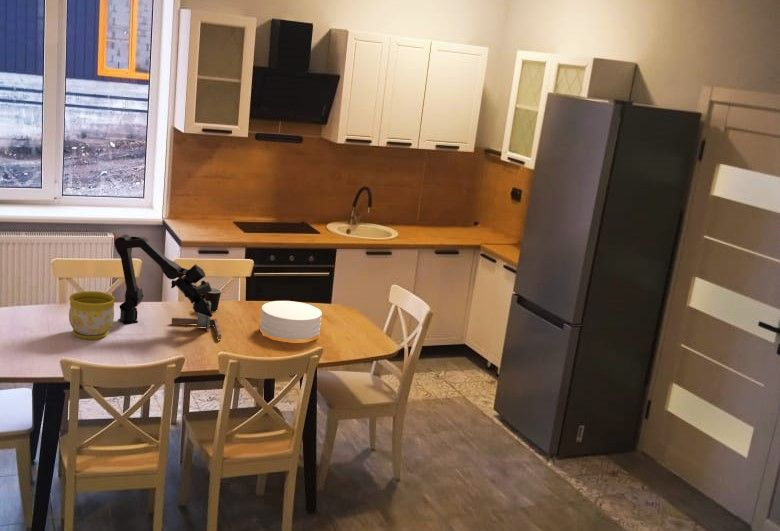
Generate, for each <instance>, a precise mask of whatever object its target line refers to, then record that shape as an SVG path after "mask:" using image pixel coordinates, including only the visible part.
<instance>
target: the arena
mask: <svg viewBox="0 0 780 531" xmlns="http://www.w3.org/2000/svg"><path fill="white" fill-rule="evenodd" d="M197 318H198V317H197ZM197 318H195V317H192V318H191V317H171V325H172V324H197ZM210 325H214V326H213V328H214V327H215V329H214V331H215V330H216V332H215V335H216V334H217V336H216V338H217V337H218V339H221V340H222V332H221V330H220V325H219V323H218V319H217V318H210ZM218 339H217V340H218Z"/></svg>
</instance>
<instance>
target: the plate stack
mask: <svg viewBox="0 0 780 531" xmlns="http://www.w3.org/2000/svg"><path fill="white" fill-rule="evenodd" d="M322 314H323V312H322V310H321V309H319V308H318V307H316V306H314V305H311V304H308V303H306V302H305V303H304V302H299V301H293V300H292V301H291V300H274V301H273V300H272V301H269V302H266V303H264V304H263V305H262V306H261V313H260V323H259V328H260V327H261V329H262V331H263V332H264V333H266V334H268V335H270V336H274V337H278V338H283V339H291V340H292V339H293V340H295V339H298V340H299V339H308V338H312V337H314V336H316V335H318V334H319V335H320V332H321V323H322V316H323V315H322Z"/></svg>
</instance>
